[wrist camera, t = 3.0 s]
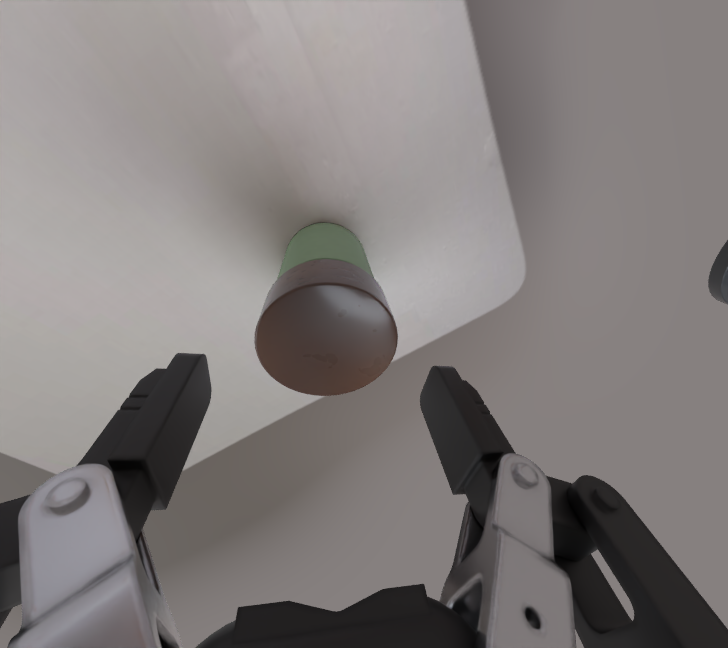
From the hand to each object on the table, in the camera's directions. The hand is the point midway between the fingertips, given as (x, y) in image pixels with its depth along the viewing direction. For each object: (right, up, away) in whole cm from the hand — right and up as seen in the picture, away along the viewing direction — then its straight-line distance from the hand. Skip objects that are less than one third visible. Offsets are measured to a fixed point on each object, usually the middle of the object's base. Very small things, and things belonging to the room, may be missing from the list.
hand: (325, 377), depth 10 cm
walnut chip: (0, +2, +4) cm, 4 cm away
